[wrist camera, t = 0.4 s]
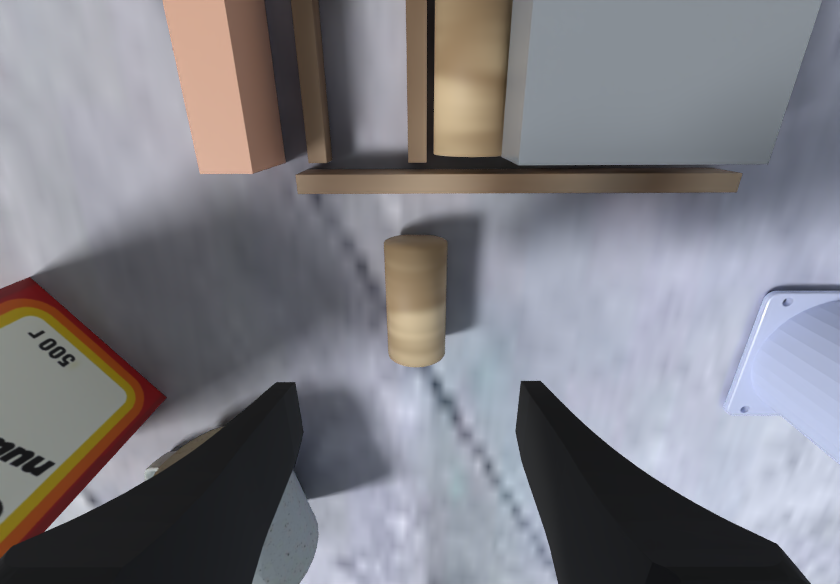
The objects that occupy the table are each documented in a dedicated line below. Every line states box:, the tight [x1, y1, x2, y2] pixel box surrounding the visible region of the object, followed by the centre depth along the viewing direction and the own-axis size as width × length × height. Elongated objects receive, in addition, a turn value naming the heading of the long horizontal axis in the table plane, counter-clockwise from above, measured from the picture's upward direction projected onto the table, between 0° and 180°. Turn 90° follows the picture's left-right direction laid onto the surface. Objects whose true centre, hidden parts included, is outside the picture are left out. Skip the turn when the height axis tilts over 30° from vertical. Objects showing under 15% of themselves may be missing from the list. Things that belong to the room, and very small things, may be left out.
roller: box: [384, 235, 447, 367], centre depth 20 cm, size 6×3×3 cm, turn 0°
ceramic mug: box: [144, 426, 318, 584], centre depth 23 cm, size 11×8×8 cm
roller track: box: [291, 0, 742, 194], centre depth 16 cm, size 19×9×3 cm, turn 90°
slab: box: [501, 0, 822, 165], centre depth 13 cm, size 8×6×3 cm
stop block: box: [163, 0, 286, 174], centre depth 16 cm, size 2×7×4 cm, turn 0°
